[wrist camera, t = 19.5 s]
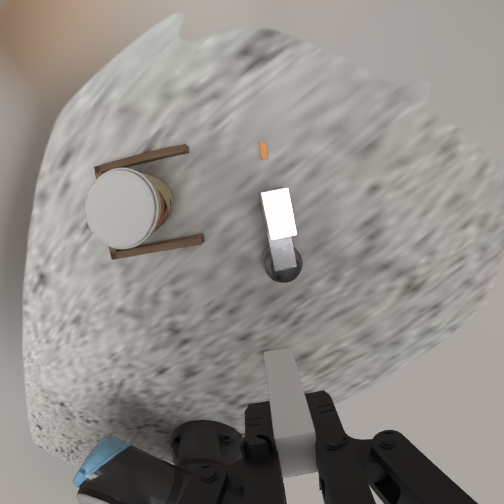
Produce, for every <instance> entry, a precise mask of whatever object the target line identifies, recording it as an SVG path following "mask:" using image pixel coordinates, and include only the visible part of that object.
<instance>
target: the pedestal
mask: <svg viewBox="0 0 504 504" xmlns="http://www.w3.org/2000/svg"><path fill="white" fill-rule="evenodd" d="M293 248H294V253H295V257H296V259H297V260H298V262H299V265H300V272H301V269H302V258H301V256H300V254H299V253H298V251H297V250H296V249H295V247H294V246H293ZM271 260H272V257H271V252H270V247H269V243H268V244H267V245H266V247H265V248H264V251H263V262H264V266H265V270H266V272H267V274H268V276H269V277H270V278H271V279H273V280H274V281H277V282H280V281H278V280H277V279H276V278H275V277H274V276H273V274H272V271H271V267H270V264H271ZM300 272H299V273H300ZM298 275H299V274H298ZM281 283H285V282H281Z"/></svg>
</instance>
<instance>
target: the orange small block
mask: <svg viewBox="0 0 504 504" xmlns="http://www.w3.org/2000/svg"><path fill="white" fill-rule="evenodd" d="M259 146H260V152H261V158H262V159H266V158H268V155H267V149H266V143H265V142H260V143H259Z"/></svg>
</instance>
